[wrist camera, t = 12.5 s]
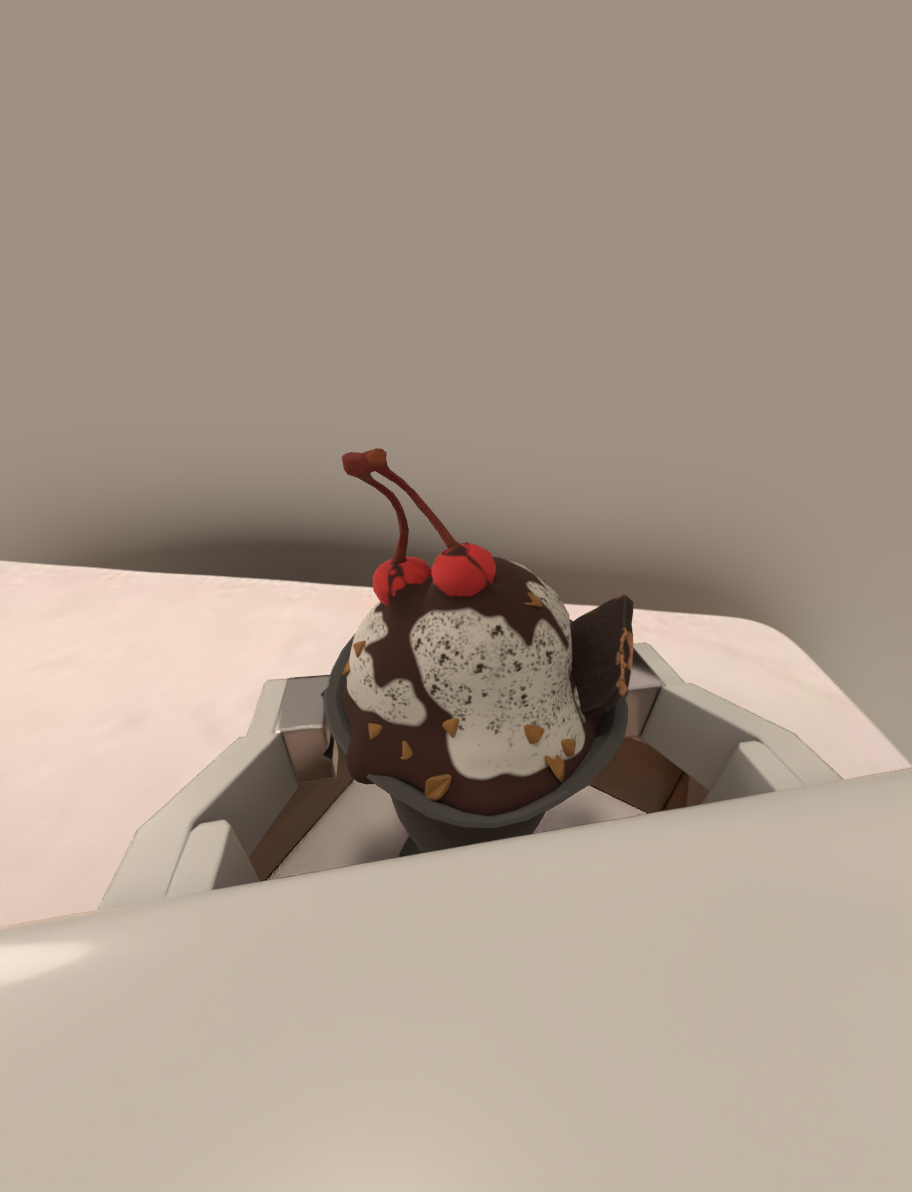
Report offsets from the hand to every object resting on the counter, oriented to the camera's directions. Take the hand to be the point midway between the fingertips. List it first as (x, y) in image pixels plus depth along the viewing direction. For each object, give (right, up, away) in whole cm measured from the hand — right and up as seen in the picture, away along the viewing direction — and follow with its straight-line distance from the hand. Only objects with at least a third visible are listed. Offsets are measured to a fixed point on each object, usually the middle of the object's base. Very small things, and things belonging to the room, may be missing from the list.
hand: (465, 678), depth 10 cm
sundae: (0, -8, +4) cm, 9 cm away
